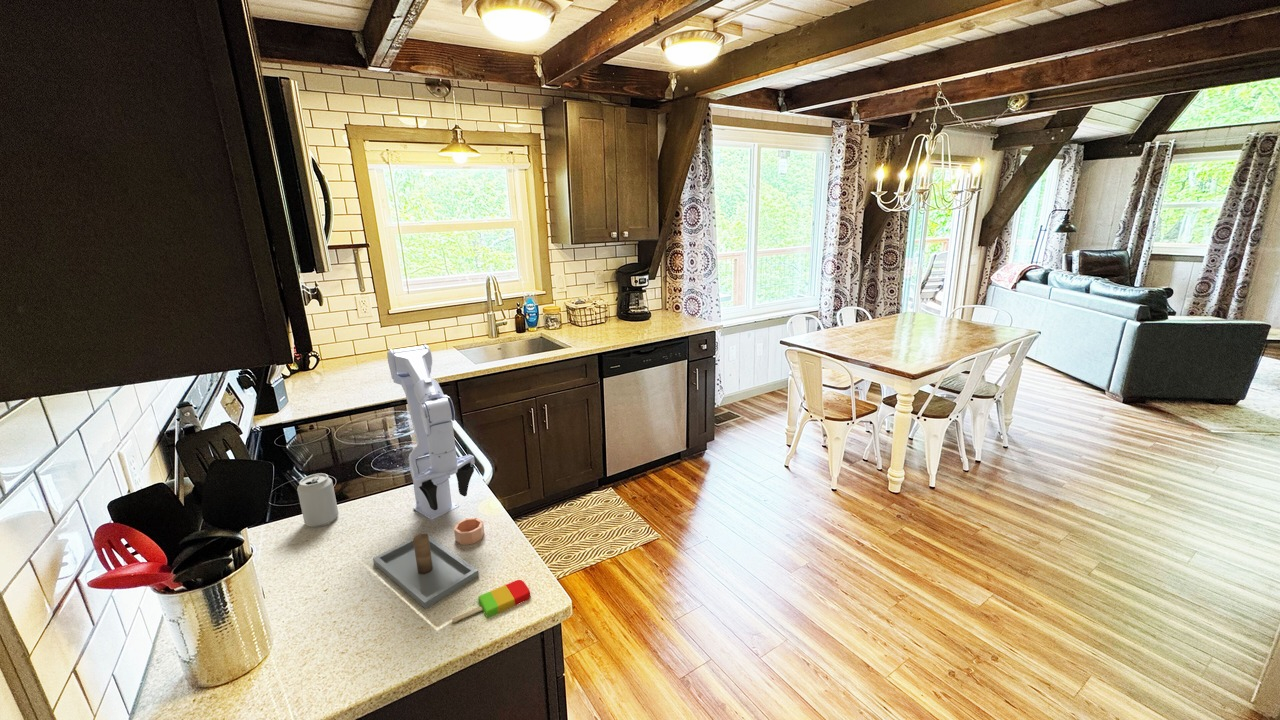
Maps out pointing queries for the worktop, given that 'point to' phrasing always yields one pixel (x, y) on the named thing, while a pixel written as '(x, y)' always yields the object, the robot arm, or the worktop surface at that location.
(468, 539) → the cup
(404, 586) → the tray
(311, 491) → the can
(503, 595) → the popsicle
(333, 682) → the worktop surface
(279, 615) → the worktop surface
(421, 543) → the pin
